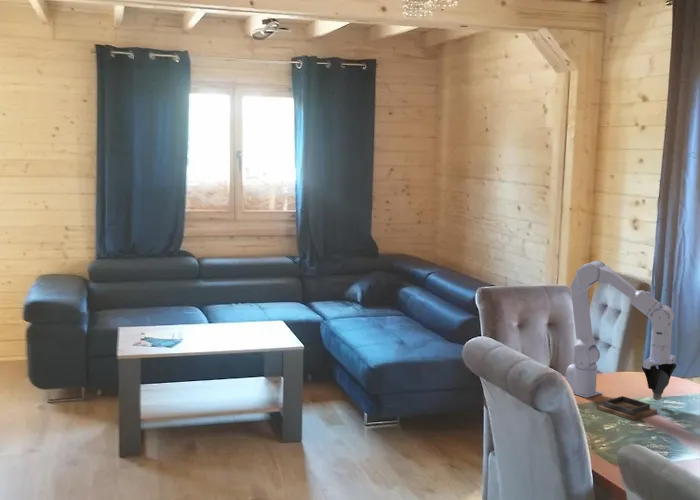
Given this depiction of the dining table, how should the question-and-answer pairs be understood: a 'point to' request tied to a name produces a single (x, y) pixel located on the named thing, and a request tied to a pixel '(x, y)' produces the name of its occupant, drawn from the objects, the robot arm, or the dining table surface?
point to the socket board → (627, 408)
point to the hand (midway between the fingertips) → (657, 387)
